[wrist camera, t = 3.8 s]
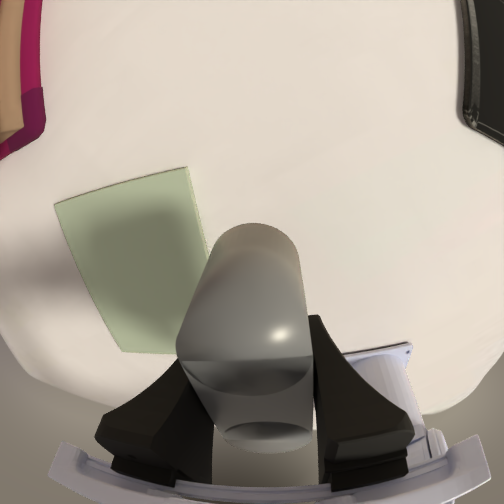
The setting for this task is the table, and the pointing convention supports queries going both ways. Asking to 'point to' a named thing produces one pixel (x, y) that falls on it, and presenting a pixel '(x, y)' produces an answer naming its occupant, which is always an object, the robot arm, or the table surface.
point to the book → (20, 75)
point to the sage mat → (139, 255)
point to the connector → (251, 341)
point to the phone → (484, 67)
